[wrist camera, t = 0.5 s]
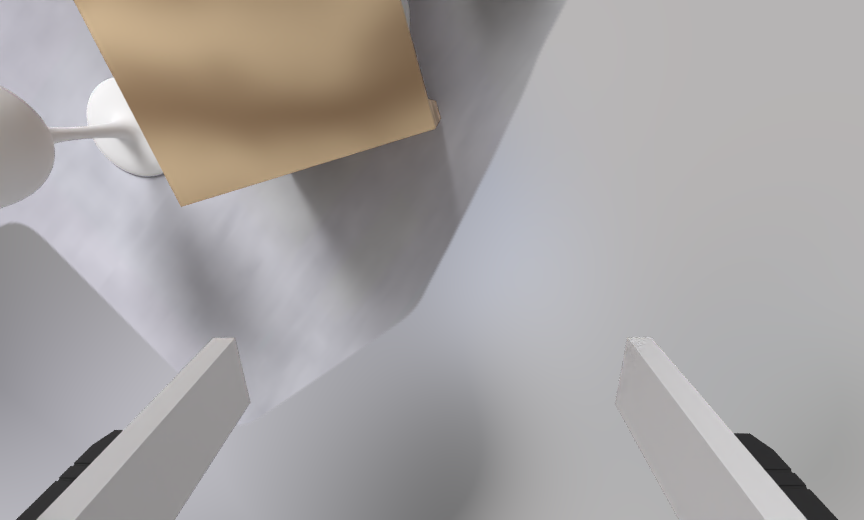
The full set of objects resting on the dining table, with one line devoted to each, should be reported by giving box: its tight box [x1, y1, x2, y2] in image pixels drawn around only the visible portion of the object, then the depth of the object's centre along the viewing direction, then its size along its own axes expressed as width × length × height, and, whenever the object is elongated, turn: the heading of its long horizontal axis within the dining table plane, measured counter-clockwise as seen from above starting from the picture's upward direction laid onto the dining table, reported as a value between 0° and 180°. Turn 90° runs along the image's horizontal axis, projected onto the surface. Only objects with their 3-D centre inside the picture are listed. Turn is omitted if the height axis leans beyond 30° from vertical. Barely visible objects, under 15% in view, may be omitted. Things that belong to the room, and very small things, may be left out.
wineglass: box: [0, 77, 163, 208], centre depth 27 cm, size 9×9×21 cm
